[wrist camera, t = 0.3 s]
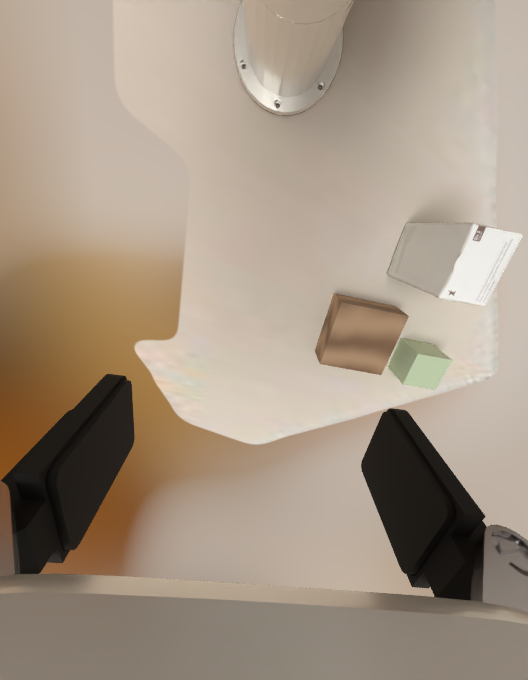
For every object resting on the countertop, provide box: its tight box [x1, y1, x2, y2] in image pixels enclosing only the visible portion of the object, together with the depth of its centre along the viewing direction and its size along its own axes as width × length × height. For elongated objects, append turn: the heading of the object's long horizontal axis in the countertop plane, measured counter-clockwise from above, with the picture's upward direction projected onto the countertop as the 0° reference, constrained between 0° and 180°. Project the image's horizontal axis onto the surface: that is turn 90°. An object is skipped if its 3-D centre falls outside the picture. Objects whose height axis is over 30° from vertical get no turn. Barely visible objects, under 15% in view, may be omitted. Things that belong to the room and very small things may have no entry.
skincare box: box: [387, 223, 523, 306], centre depth 36 cm, size 8×6×15 cm
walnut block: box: [315, 294, 409, 375], centre depth 46 cm, size 11×11×5 cm
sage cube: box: [388, 338, 452, 390], centre depth 48 cm, size 6×6×6 cm
